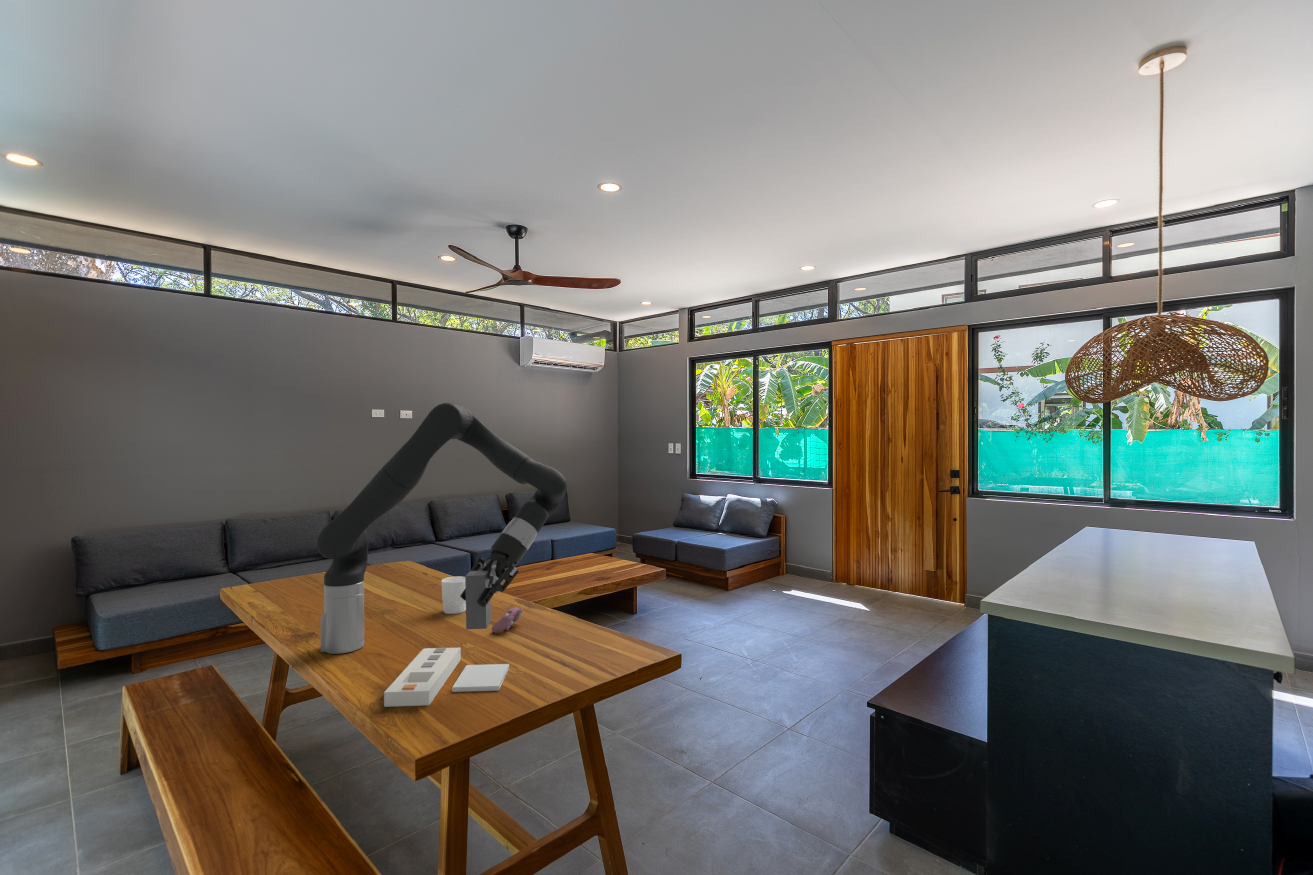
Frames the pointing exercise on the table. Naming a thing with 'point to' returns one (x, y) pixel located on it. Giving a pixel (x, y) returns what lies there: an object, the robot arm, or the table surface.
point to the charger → (474, 588)
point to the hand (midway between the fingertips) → (471, 601)
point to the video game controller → (507, 620)
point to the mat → (481, 678)
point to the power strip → (422, 677)
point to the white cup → (453, 595)
